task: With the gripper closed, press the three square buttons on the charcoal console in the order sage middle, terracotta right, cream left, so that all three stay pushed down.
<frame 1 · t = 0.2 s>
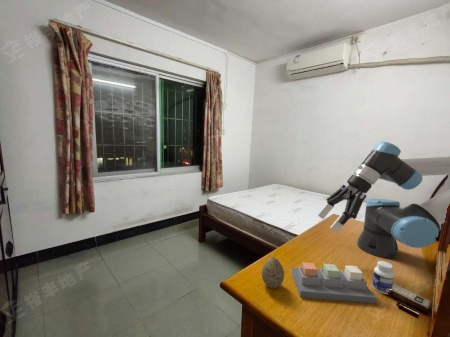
hand: (326, 223, 82), 16 cm above the table, tool tilted 35°, fingers open, 13 cm apart
terracotta button: (308, 269, 70), point 5 cm above the table, slide at 0.0 cm
pill bottle: (381, 289, 69), on the table
console: (329, 286, 70), on the table
sage button: (330, 271, 69), point 5 cm above the table, slide at 0.0 cm
decorative egg: (271, 286, 69), on the table
cream button: (353, 273, 68), point 5 cm above the table, slide at 0.0 cm
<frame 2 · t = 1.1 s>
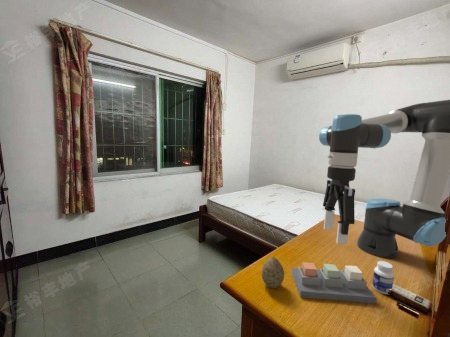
hand: (334, 235, 68), 18 cm above the table, tool pointing down, fingers open, 9 cm apart
nothing on the table moved.
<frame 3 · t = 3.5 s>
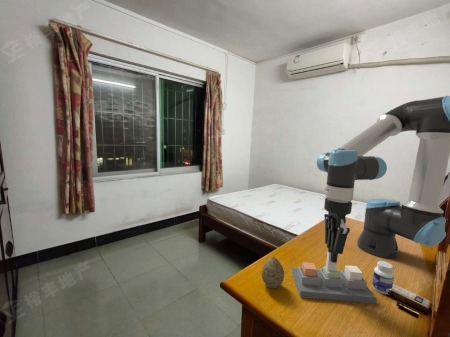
hand: (330, 269, 69), 6 cm above the table, tool pointing down, fingers closed
sage button: (330, 274, 69), point 5 cm above the table, slide at 0.9 cm, touching gripper
everything else where it was.
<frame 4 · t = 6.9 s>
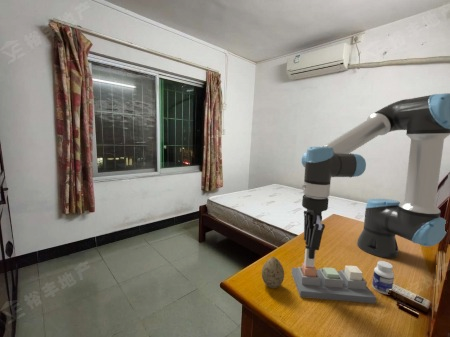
hand: (309, 265, 69), 7 cm above the table, tool pointing down, fingers closed
terracotta button: (308, 270, 70), point 5 cm above the table, slide at 0.2 cm, touching gripper
sage button: (330, 275, 69), point 4 cm above the table, slide at 1.3 cm
everything else where it was.
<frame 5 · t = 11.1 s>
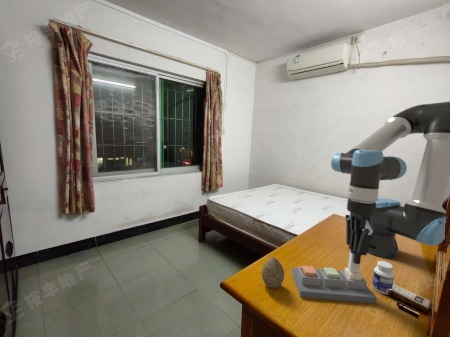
hand: (353, 270, 68), 6 cm above the table, tool pointing down, fingers closed
terracotta button: (308, 273, 70), point 4 cm above the table, slide at 1.3 cm
cream button: (352, 275, 69), point 5 cm above the table, slide at 0.8 cm, touching gripper
everything else where it was.
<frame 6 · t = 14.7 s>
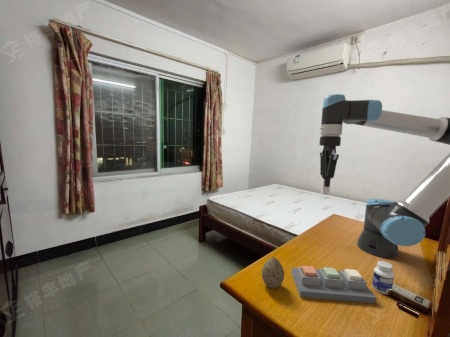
hand: (324, 193, 87), 26 cm above the table, tool pointing down, fingers closed
cream button: (352, 276, 69), point 4 cm above the table, slide at 1.3 cm
everything else where it was.
at the end: sage button slide at 1.3 cm; terracotta button slide at 1.3 cm; cream button slide at 1.3 cm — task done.
